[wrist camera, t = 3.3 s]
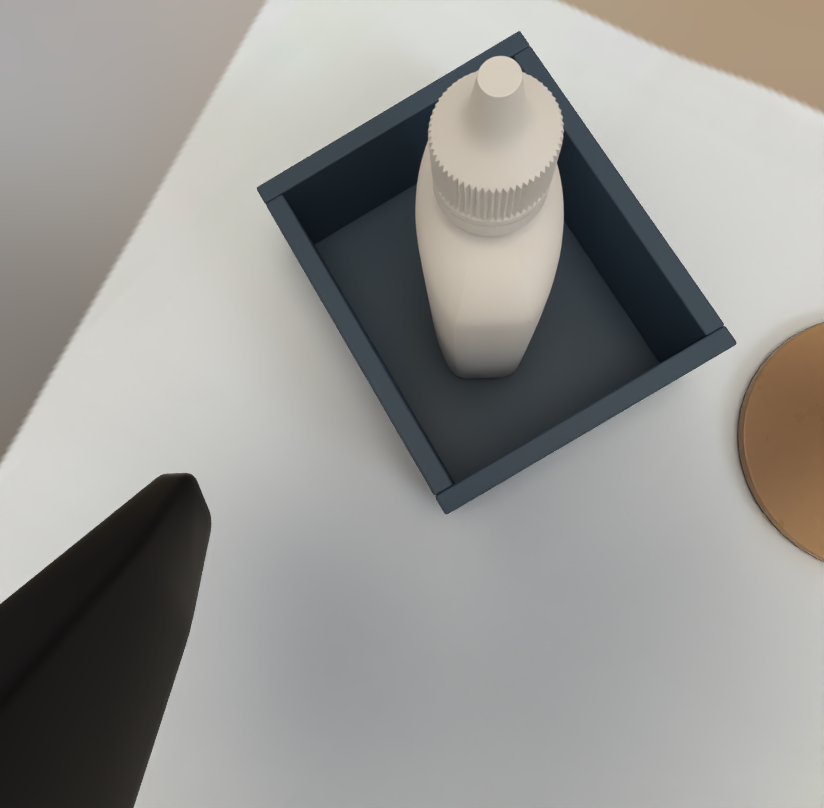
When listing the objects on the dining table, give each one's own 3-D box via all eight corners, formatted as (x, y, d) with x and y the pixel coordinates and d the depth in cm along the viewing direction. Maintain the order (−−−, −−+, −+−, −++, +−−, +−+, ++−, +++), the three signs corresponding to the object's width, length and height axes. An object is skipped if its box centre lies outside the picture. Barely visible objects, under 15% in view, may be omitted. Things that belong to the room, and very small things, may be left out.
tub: (684, 370, 21) (738, 343, 16) (449, 508, 21) (445, 515, 17) (509, 113, 22) (519, 29, 18) (294, 241, 22) (255, 187, 18)
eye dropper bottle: (574, 258, 21) (710, -24, 9) (500, 401, 21) (547, 294, 9) (461, 207, 22) (456, -120, 10) (388, 344, 21) (292, 174, 10)
